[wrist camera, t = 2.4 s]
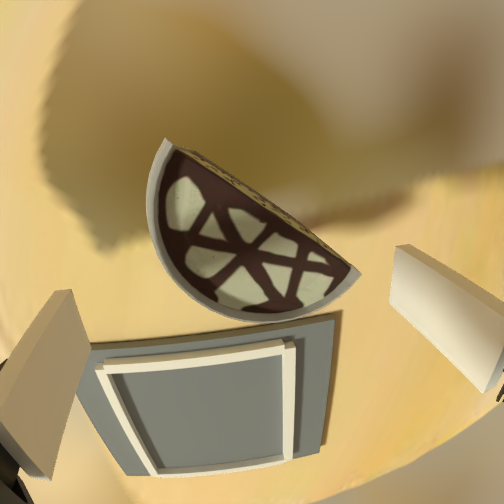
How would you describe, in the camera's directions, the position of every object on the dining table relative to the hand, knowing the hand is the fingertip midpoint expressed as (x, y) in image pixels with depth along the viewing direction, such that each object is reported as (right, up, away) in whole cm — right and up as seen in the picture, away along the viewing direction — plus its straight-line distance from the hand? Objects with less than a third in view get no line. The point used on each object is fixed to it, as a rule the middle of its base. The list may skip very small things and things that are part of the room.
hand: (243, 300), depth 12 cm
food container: (-2, +4, +12) cm, 13 cm away
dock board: (-5, -16, +19) cm, 25 cm away
